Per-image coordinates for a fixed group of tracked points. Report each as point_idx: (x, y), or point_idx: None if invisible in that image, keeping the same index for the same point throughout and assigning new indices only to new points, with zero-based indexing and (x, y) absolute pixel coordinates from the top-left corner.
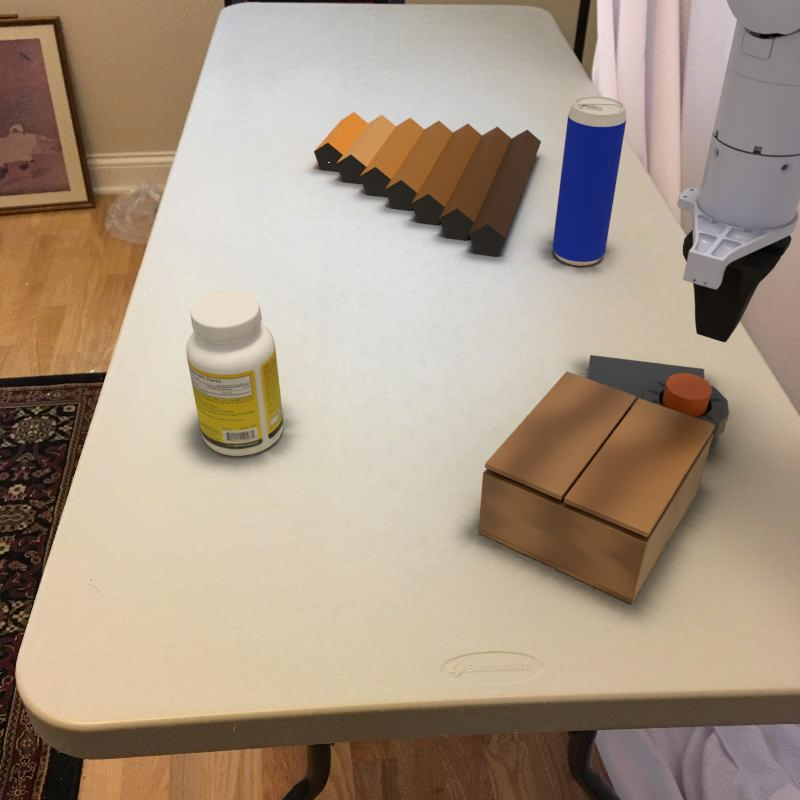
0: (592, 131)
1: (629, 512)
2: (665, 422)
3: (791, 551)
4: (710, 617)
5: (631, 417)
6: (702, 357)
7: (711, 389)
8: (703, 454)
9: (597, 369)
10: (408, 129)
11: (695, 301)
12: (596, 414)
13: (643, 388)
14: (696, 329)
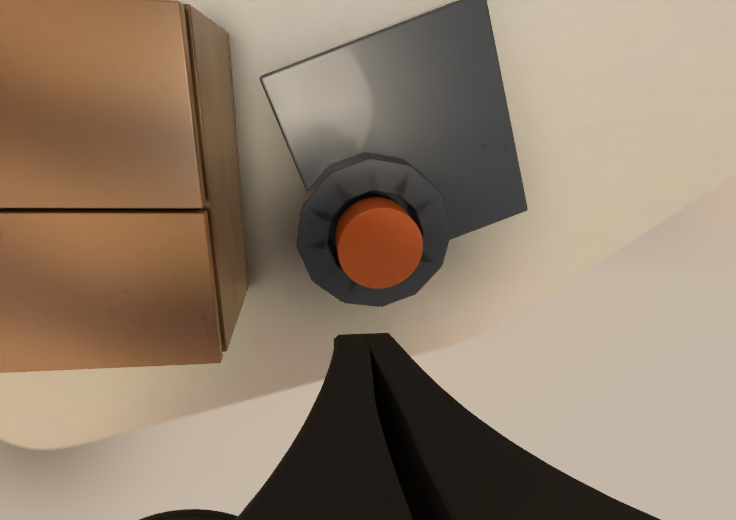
0: None
1: None
2: (161, 289)
3: (221, 405)
4: (43, 371)
5: (123, 226)
6: (585, 183)
7: (393, 285)
8: None
9: (440, 28)
10: None
11: (319, 393)
12: (64, 155)
13: (421, 138)
14: (336, 340)
